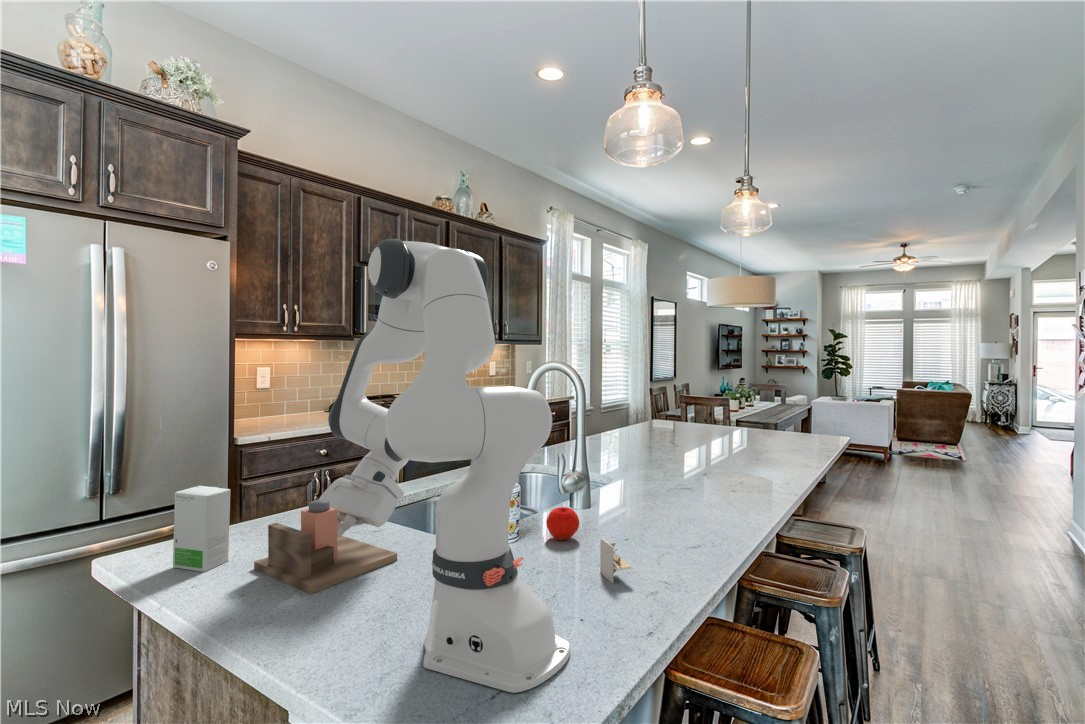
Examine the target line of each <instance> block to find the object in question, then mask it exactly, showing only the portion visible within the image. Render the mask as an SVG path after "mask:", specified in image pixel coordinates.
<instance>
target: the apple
mask: <svg viewBox="0 0 1085 724" xmlns="http://www.w3.org/2000/svg"><path fill="white" fill-rule="evenodd" d="M579 518H580V517H579V516H578V514H577V513H576V511H575V510H574V509H572V508H570V507H567V506H566V507H565V506H564V507H556V508H553V509H552V510H551V511H550V512H549V513H548V516H547V518H546V521H545V522H546V529H547V530H548V531H549V534H550V535H551V536H552V537H553V539H555V540H557V539H558V540H559V541H560V540H561V541H563V540H565V541H566V540H569V539H571V538H572V537H573V536H574V535H575V534H576V533H577V531H578V530H579V527H580V519H579Z"/></svg>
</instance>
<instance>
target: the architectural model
mask: <svg viewBox="0 0 1085 724" xmlns="http://www.w3.org/2000/svg"><path fill="white" fill-rule="evenodd" d="M616 544H617V542H608V541H606V540H605V539H603V538H602V537H601V538H600V551H599V553H600V564H599V565H600V569H599V570H600V574H602V575H603V576H604V577H605V578H606V579H607V581H609V582H611V584H614V574H615V573H616V572H617V571H623V570H624V571H626V570H631V569H632V566H631V565H630V564H628V562H626V561H625V560H624V559H622V557H621V556H620V555H618V554H617V553H616V551H617V550H618V548H616V549H615V550H614V548H615V546H616Z"/></svg>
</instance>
